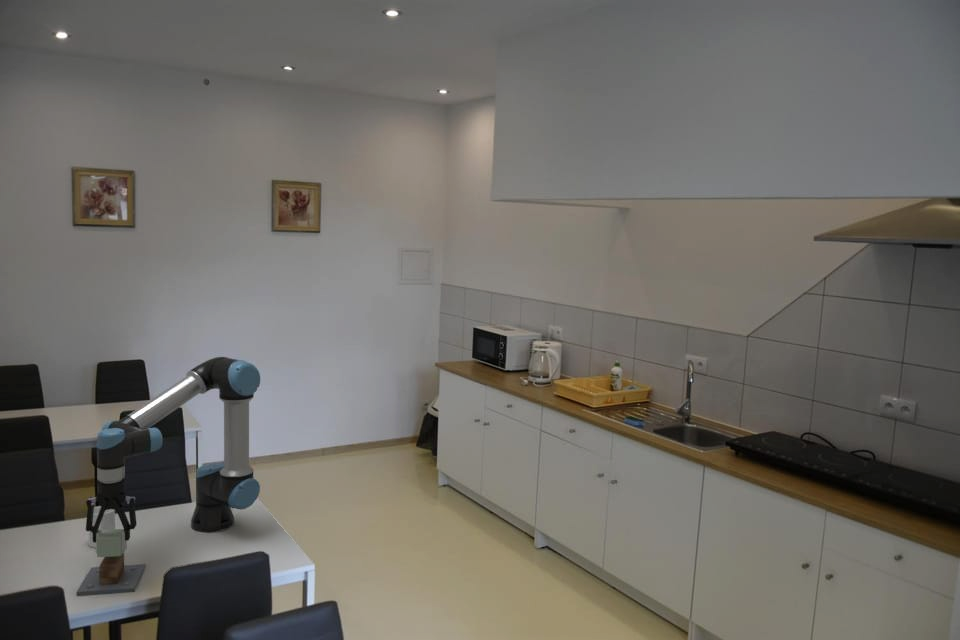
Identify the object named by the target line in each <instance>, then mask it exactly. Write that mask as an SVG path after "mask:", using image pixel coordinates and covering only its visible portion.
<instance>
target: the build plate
mask: <svg viewBox="0 0 960 640" xmlns="http://www.w3.org/2000/svg"><path fill="white" fill-rule="evenodd" d="M145 567H146V563H142V564H141V563H139V564H124V572H123V574H122V576H121V578H120V580H119V582H118V584H108V585H99V566H93V567H90V568H89V571H88V573H87V574H86V575H85V577H84V579H83V581H82V582H81V583H80V586H78V589H77V591H76V594H75V595H76V596H77V597H78V596H93V595H106V594H121V593H122V592H123V593H130V592H131V593H134V592H136V590H137V587H138V585H139V583H140V580H141V579H142V576H143V574H144V572H145V570H146V568H145ZM144 569H145V570H144ZM135 589H136V590H135Z"/></svg>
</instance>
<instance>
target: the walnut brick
mask: <svg viewBox="0 0 960 640" xmlns="http://www.w3.org/2000/svg"><path fill="white" fill-rule="evenodd" d="M124 565H125V552H122V554H121V556H112V557H103V559H102V561H101V562H100V565H99V566H98V567H99V585H108V584H118V582H119V580H120V578H121V576H122V574H123V572H124Z"/></svg>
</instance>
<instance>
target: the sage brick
mask: <svg viewBox="0 0 960 640" xmlns="http://www.w3.org/2000/svg"><path fill="white" fill-rule="evenodd" d="M123 529H124V528H115V529H111V530H102V532H101V534H100V535H99V536H98V538H97V554H96V558H104V557H112V556H121V554H122V553H123V552H122V531H123Z"/></svg>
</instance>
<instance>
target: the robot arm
mask: <svg viewBox="0 0 960 640" xmlns="http://www.w3.org/2000/svg"><path fill="white" fill-rule="evenodd" d="M185 375H186V376H185V377H183V378H182V379H180V380H179V381H177V382H175V383H174V384H172V385H171V386H170V387H168V388H166V390H163V391H162V392H160V393H159V394H158V395H156V396H155V397H153V398H151V399H150V400H149V401H147V402H145V403H144V404H142V405H141V406H140V407H138V408H136V409H135V410H133V411H132V412H130V413H128V414H127V415H126V416H124V417H123V418H121V419H119V420H110V421H108V422H105V423H104V424H103V426H102V428H101V430H100V431H99V432H98V434H97V437H96V438H97V439H96V459H97V460H96V463H97V467H96V470H97V472H96V473H97V474H96V475H97V476H96V478H97V482H96V483H97V485H96V486H97V489H96V490H97V491H96V492H97V495H96V497H89V498H88V499H87V500H86V501H85V504H86V507H87V511H86V522H85V524H86V525H85V532H89V531H91V532H92V533H93V542H96V549H95V551H96V552H95V553H96V555H97V538H98V536H99V535H100V534H101V530H98V529H99V526H100V523H101V521H102V518H103V515H104V513H105V510H109V509H113V510H114V509H115V513H116V514H117V515H118V518H119V520H120V522H121V525H122V529H123V531H122V553H123V552H124V553H125V552H126V550H127V548H128V547H127V542H128V541H130V538H131V530H134V529H135V528H136V526H137V517H136V516H137V515H136V506H135V503H136V499H137V497H136V496H135V495H133V496H128V495H127V493H126V479H125V477H126V476H125V475H126V474H125V473H126V472H125V471H126V467H125V465H126V458H131V457H134V456H135V457H136V456H139V455H144V454H147V453H148V454H150V453H152V452H156V451H159V450H160V449H161V448H162V447H163V446H162V445H163V443H164V441H163V440H164V439H163V438H164V437H163V435H162V432H161V430H159V428H158V427H153V426H154V425H155V424H157V423H158V422H160V421H162V420H163V419H164V418H165V417H167V416H169V415H170V414H171V413H174V412H175V411H176V410H177V409H179V408H181V406H183V405H184V404H186V403H188V402H190V400H192V399H193V398H194V397H197V396H198V395H199V394H201V395H205V394H206V393H208V392H209V391H211V390H214V389H215V390H216V389H218V390H219V391H218V392H219V396H218V398H219V400H220V401H222V403H223V462H220V461H219V462H218V461H217V462H211V463H207V464H204V465H200V466H199V467H198V468H196V472H195V486H196V487H195V509H194V511H193V514H192V517H191V519H190V528H191V529H193V530H194V531H196V532H202V533H212V532H219V531H224V530H226V529H229V528H230V527H232V526H233V525H234V523H235V521H234V520H235V515H234V512H233V510H232V509H236V510H245V509H247V508H249V507H251V506H252V505H253V504H254V503H255V501H256V500H257V499H258V497H259V495H260V492H261V485H260V483H259V481H257V479H256V478H254V468H253V467H252V466H250V401H251V400H253V399H254V396H255V395H254V394H255V393H256V392H257V391H258V388H260V385H261V375H260V372H259V370H258V368H257V367H256V366H255V365H254V364H252V362H251V363H250V362H248V361H245V360H242V359H241V360H240V359H235V358H231V357H230V358H229V357H227V356H217V357H213V358H210V359H207V360H205V361H204V362H202V363H200V364H198V365H197V366H194V368H192V369H191V370H189V371H187V372H186V374H185ZM125 501H126V503H127V505H128V515H129V519H128V517H127V514H126V512H125V509H124V505H123V503H124V502H125ZM96 502H97V503H98V505H99V506H101V509H100V511H99V514H98V517H97V520H96V522H95V525H94V526H92V523H93V513H94V507H95V504H96Z"/></svg>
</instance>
